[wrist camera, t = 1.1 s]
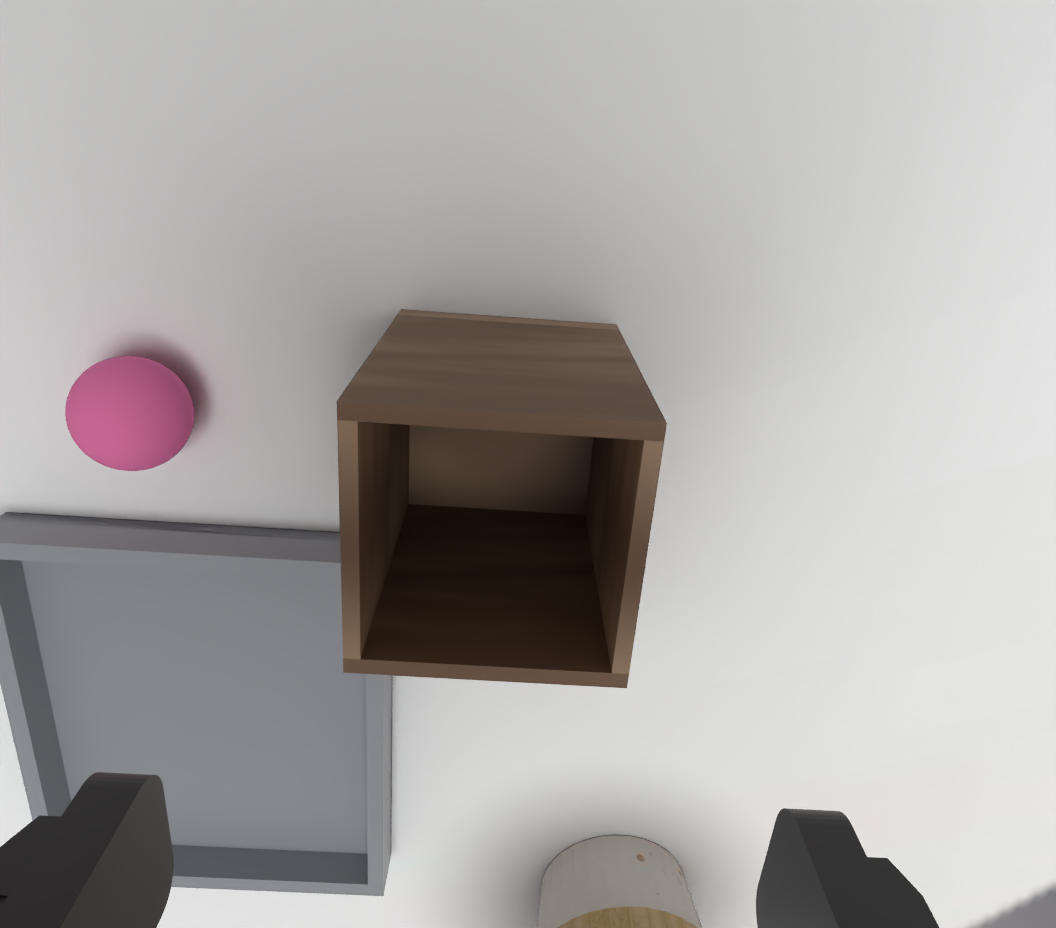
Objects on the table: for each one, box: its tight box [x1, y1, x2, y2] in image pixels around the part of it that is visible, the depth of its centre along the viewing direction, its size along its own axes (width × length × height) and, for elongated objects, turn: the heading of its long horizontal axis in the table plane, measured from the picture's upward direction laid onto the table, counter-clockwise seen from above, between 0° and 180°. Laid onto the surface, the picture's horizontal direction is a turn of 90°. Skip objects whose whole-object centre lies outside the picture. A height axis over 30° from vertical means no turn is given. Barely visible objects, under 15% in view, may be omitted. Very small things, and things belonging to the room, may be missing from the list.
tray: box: [0, 513, 392, 896], centre depth 28 cm, size 15×13×2 cm
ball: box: [65, 356, 194, 471], centre depth 23 cm, size 3×3×3 cm
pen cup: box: [337, 309, 667, 688], centre depth 21 cm, size 7×7×9 cm
